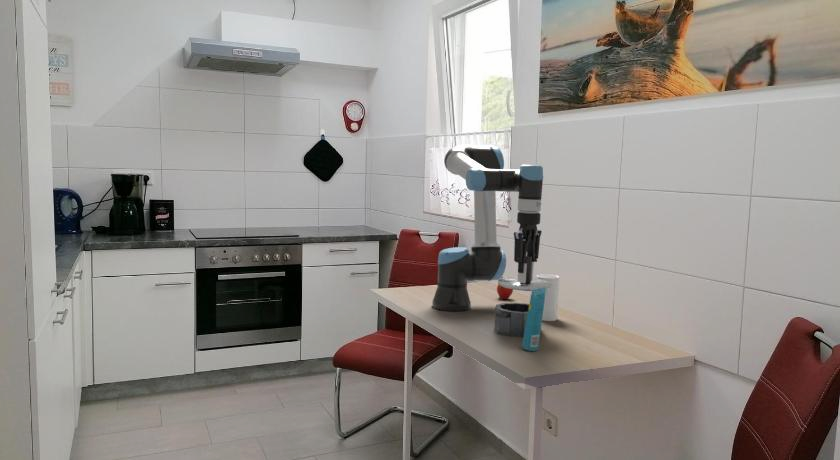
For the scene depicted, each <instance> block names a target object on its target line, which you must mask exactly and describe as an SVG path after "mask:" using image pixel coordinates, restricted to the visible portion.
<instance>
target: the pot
mask: <svg viewBox="0 0 840 460" xmlns="http://www.w3.org/2000/svg"><path fill="white" fill-rule="evenodd" d="M529 304H530V303H525V302H501V303H497V304H496V305H495V307H494V326H493V327H494V329H493V330H494V331H495V332H496V333H498V334H500V335H504V336H509V337H516V338H517V337H520V338H524V333H525V327H526V321H527V315H528V309H529ZM540 335H542V331H541V332H540Z"/></svg>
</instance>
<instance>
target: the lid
mask: <svg viewBox="0 0 840 460" xmlns="http://www.w3.org/2000/svg"><path fill="white" fill-rule="evenodd" d="M525 263H526V264H527V267H526V283H521V282H517V281H518V276H512V277H503V278H500V279H498V280H497V285H498V284H499V285H500V286H502V287H505V288H509V289H513V291H514V290H516V291H523V292H524V291H525V292H532V290H535V289H539V288H543V287H545V288H546V290H549V289H551V288H552V286H553V285H552V283H550V282H548V281H545V280H541V279H537V278H534V277H533V281H531V267H532V256H529V255H527V254H526V260H525Z"/></svg>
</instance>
